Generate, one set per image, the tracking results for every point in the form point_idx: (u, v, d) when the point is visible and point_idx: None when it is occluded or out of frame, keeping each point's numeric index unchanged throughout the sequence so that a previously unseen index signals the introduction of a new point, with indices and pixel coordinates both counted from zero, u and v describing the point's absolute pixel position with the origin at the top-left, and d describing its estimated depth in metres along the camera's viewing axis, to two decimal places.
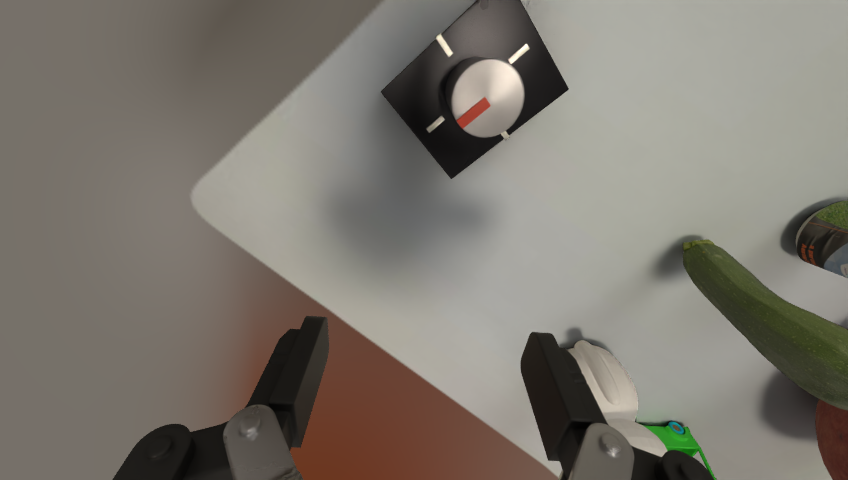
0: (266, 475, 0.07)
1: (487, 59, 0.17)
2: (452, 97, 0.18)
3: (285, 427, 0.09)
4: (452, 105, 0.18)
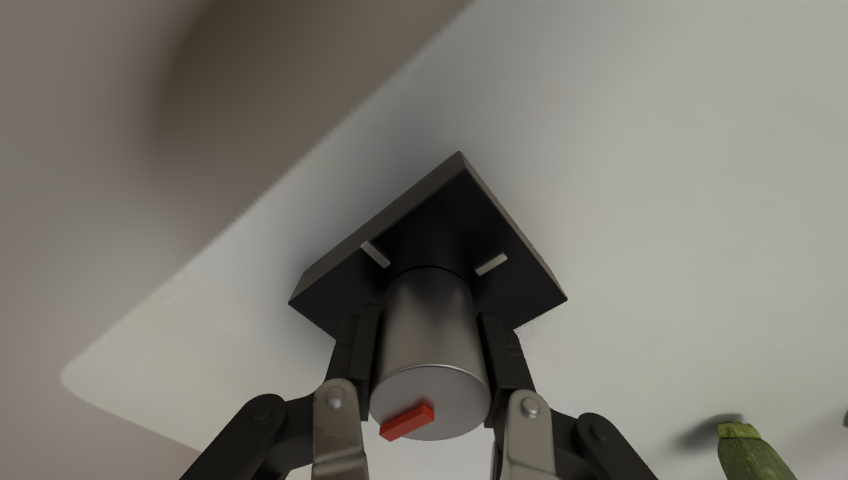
0: (338, 445, 0.08)
1: (424, 363, 0.10)
2: (369, 404, 0.11)
3: (361, 400, 0.10)
4: (371, 411, 0.11)
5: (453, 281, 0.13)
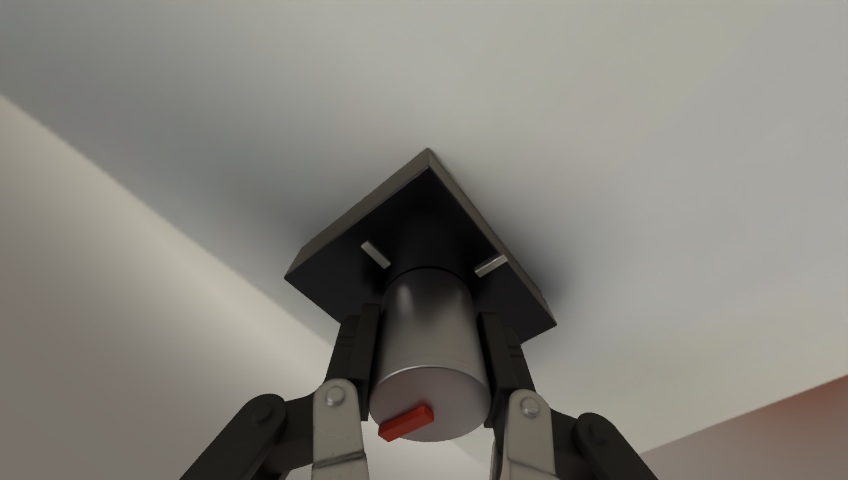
0: (338, 445, 0.08)
1: (426, 364, 0.10)
2: (369, 404, 0.10)
3: (361, 400, 0.10)
4: (370, 411, 0.11)
5: (454, 283, 0.14)
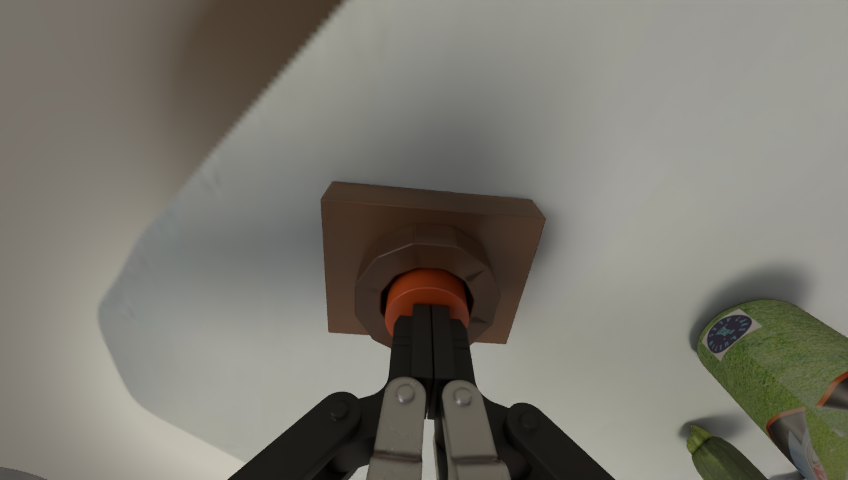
0: (399, 442, 0.08)
1: None
2: None
3: None
4: None
5: None
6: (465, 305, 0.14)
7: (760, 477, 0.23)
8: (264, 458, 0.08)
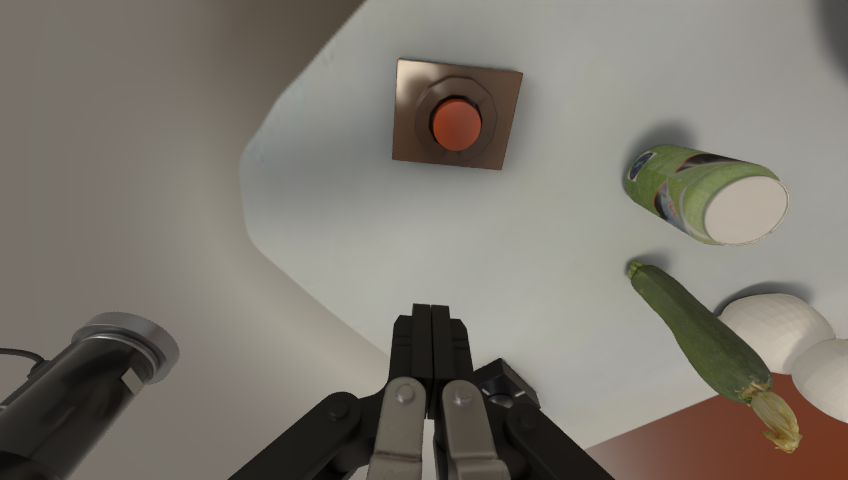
0: (399, 442, 0.08)
1: None
2: None
3: None
4: None
5: (509, 400, 0.46)
6: (478, 115, 0.25)
7: (670, 278, 0.34)
8: (264, 458, 0.08)
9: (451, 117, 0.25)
